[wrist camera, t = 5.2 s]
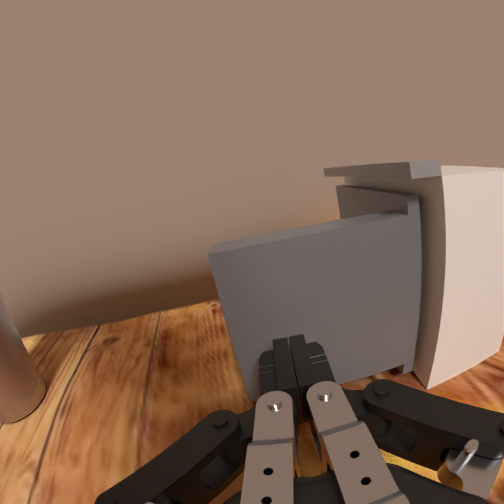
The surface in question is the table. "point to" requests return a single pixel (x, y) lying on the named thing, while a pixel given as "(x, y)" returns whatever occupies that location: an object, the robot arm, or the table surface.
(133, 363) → the table surface
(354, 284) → the side door
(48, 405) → the table surface
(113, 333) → the table surface
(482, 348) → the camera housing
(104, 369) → the table surface
